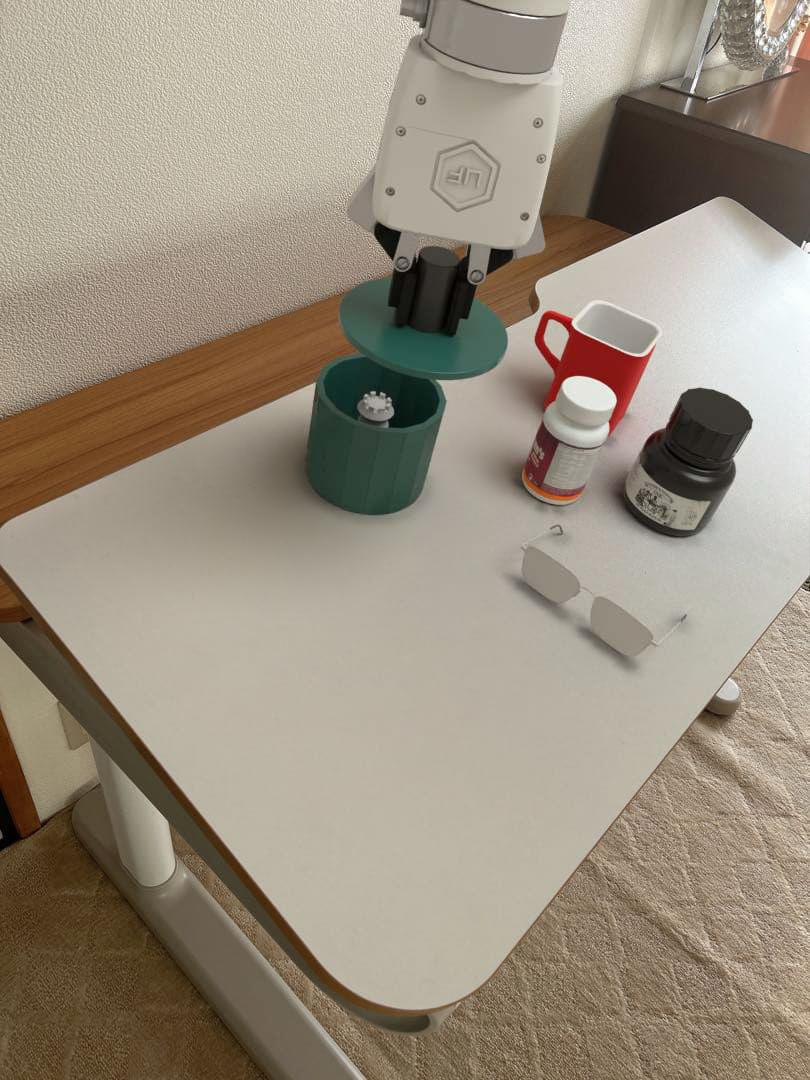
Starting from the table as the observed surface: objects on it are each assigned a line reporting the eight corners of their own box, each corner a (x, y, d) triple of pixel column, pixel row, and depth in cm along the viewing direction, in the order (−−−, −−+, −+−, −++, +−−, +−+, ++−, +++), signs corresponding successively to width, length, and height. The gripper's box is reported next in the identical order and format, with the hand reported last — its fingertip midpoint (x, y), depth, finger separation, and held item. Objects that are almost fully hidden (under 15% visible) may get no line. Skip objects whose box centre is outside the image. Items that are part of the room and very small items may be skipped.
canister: (280, 471, 81) (290, 386, 74) (353, 419, 88) (368, 338, 82) (378, 533, 78) (398, 450, 71) (445, 474, 85) (469, 394, 78)
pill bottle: (517, 460, 88) (551, 366, 81) (576, 469, 89) (616, 377, 81) (523, 502, 84) (559, 407, 76) (585, 511, 85) (627, 418, 77)
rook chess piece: (358, 447, 85) (371, 378, 79) (396, 469, 83) (412, 401, 78) (330, 468, 82) (341, 398, 76) (368, 492, 80) (383, 423, 75)
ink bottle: (600, 492, 87) (645, 394, 79) (652, 463, 92) (700, 368, 84) (677, 554, 83) (734, 457, 75) (728, 520, 88) (786, 426, 80)
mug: (630, 410, 99) (667, 328, 91) (605, 445, 93) (642, 361, 86) (535, 365, 102) (563, 282, 94) (505, 396, 96) (533, 310, 89)
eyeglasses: (508, 570, 77) (523, 537, 75) (556, 535, 83) (572, 503, 80) (642, 670, 72) (662, 638, 69) (684, 626, 77) (704, 594, 75)
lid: (301, 328, 60) (311, 244, 56) (401, 274, 68) (417, 196, 64) (445, 411, 57) (467, 328, 52) (533, 344, 65) (559, 267, 60)
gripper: (341, 19, 45) (303, 330, 58) (645, 83, 47) (543, 369, 60) (348, -19, 50) (312, 273, 63) (621, 40, 52) (532, 311, 65)
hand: (425, 318), depth 61 cm, fingers closed on lid, 2 cm apart
